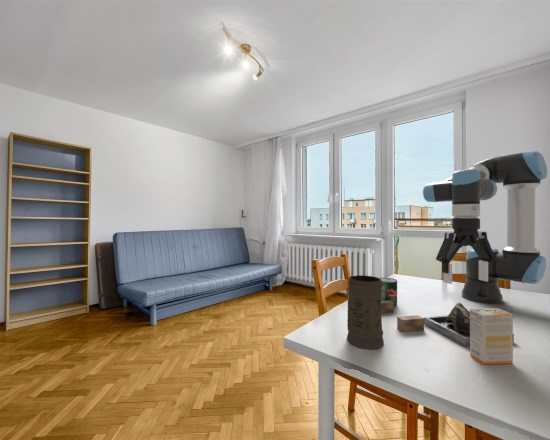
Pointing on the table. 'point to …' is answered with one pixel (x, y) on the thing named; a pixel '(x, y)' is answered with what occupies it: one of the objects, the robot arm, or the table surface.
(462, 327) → the fossil
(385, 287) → the canned tomato
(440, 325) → the dish
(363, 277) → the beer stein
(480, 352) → the supplement box
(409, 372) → the table surface
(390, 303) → the cradle
